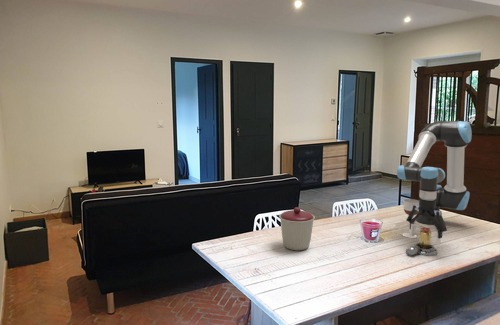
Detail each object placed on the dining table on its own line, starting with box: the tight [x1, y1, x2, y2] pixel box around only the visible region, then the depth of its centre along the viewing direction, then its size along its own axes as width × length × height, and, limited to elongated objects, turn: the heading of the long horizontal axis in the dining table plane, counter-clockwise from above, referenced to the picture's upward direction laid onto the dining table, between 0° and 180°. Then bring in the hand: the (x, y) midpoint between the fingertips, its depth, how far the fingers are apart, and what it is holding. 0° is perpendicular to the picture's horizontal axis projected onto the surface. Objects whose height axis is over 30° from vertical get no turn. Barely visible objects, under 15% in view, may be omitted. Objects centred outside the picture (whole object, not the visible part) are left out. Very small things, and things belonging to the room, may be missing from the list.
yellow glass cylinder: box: [418, 226, 432, 249], centre depth 184 cm, size 5×5×11 cm
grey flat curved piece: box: [405, 242, 438, 257], centre depth 183 cm, size 18×12×4 cm, turn 121°
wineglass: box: [402, 198, 419, 239], centre depth 205 cm, size 8×9×20 cm
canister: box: [278, 206, 316, 251], centre depth 189 cm, size 18×18×21 cm
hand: (424, 239), depth 184 cm, fingers open, 13 cm apart
